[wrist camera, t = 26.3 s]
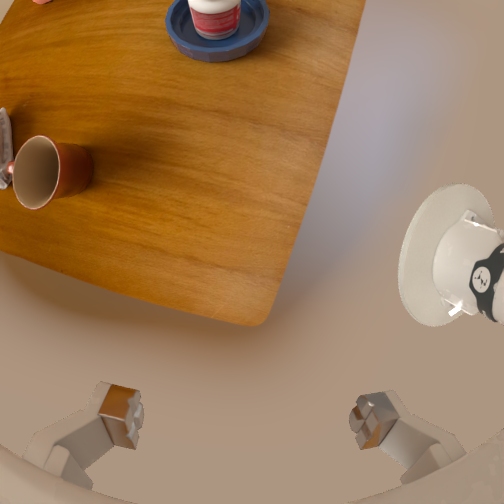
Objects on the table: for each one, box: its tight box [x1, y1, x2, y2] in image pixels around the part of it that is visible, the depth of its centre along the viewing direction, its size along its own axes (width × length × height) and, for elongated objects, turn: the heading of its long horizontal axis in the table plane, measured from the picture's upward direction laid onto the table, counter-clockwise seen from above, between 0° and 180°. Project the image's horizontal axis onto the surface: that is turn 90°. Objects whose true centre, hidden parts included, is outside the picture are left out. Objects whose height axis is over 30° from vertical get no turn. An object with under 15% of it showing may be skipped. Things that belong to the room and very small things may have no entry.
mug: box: [7, 135, 93, 210], centre depth 27 cm, size 12×9×10 cm
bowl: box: [165, 0, 270, 62], centre depth 26 cm, size 13×14×4 cm
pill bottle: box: [188, 0, 241, 40], centre depth 22 cm, size 6×6×11 cm
